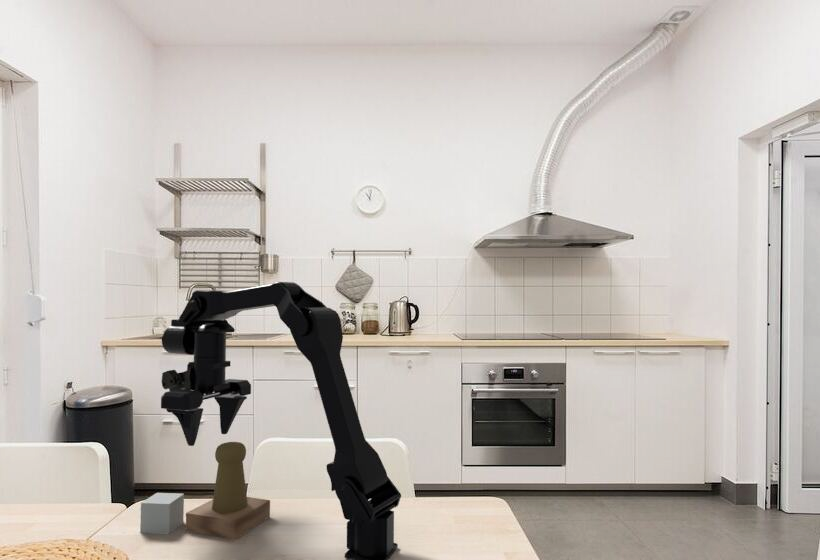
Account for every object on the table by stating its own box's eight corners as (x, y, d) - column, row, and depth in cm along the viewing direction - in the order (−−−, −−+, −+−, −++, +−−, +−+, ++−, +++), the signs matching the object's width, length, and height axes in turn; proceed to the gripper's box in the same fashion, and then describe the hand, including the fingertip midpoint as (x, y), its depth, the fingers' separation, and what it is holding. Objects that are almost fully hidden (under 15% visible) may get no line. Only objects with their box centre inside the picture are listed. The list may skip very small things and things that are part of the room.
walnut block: (269, 516, 99) (270, 500, 99) (235, 539, 90) (235, 520, 90) (223, 509, 103) (224, 493, 103) (185, 530, 93) (186, 512, 93)
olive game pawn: (236, 514, 93) (238, 448, 93) (204, 511, 94) (205, 446, 94) (253, 501, 99) (254, 439, 99) (223, 499, 100) (224, 438, 100)
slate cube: (183, 522, 97) (183, 493, 97) (168, 534, 92) (169, 503, 92) (156, 521, 97) (156, 492, 98) (140, 533, 92) (141, 502, 93)
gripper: (208, 350, 115) (206, 425, 115) (137, 359, 98) (135, 448, 97) (253, 352, 112) (251, 430, 111) (188, 362, 94) (186, 454, 93)
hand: (208, 439), depth 103 cm, fingers open, 9 cm apart
